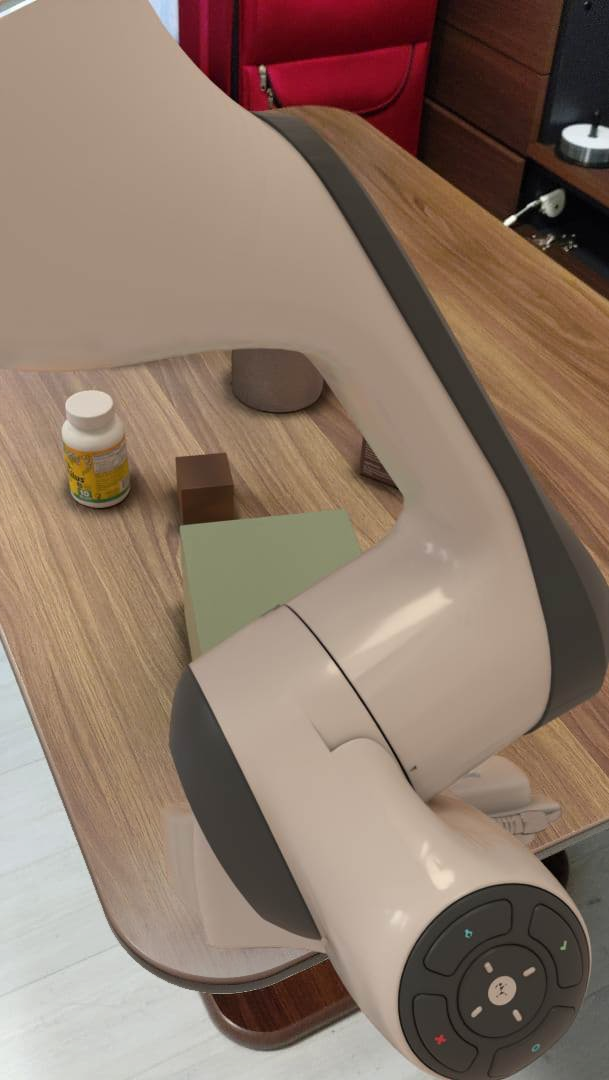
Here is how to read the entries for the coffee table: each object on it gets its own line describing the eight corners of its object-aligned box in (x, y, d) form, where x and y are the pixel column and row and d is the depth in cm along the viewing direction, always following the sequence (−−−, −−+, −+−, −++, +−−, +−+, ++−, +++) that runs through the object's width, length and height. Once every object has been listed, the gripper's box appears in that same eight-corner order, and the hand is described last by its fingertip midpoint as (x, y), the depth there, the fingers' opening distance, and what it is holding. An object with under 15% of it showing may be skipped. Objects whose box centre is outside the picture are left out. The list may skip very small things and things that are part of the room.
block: (183, 528, 85) (181, 489, 82) (177, 495, 88) (175, 456, 85) (234, 523, 86) (233, 484, 83) (226, 490, 89) (226, 452, 86)
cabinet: (380, 729, 71) (394, 643, 64) (207, 755, 68) (203, 668, 62) (337, 595, 80) (346, 507, 74) (184, 613, 78) (179, 525, 71)
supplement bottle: (140, 498, 88) (132, 411, 81) (84, 517, 86) (71, 429, 79) (116, 465, 91) (106, 378, 84) (61, 482, 89) (47, 395, 82)
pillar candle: (212, 380, 102) (209, 246, 92) (284, 351, 107) (289, 220, 96) (270, 425, 97) (274, 289, 86) (343, 392, 101) (355, 259, 91)
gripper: (569, 755, 49) (473, 715, 62) (161, 820, 45) (153, 763, 59) (584, 880, 49) (484, 813, 62) (176, 956, 45) (164, 867, 59)
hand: (321, 789), depth 61 cm, fingers closed on drawer, 6 cm apart
